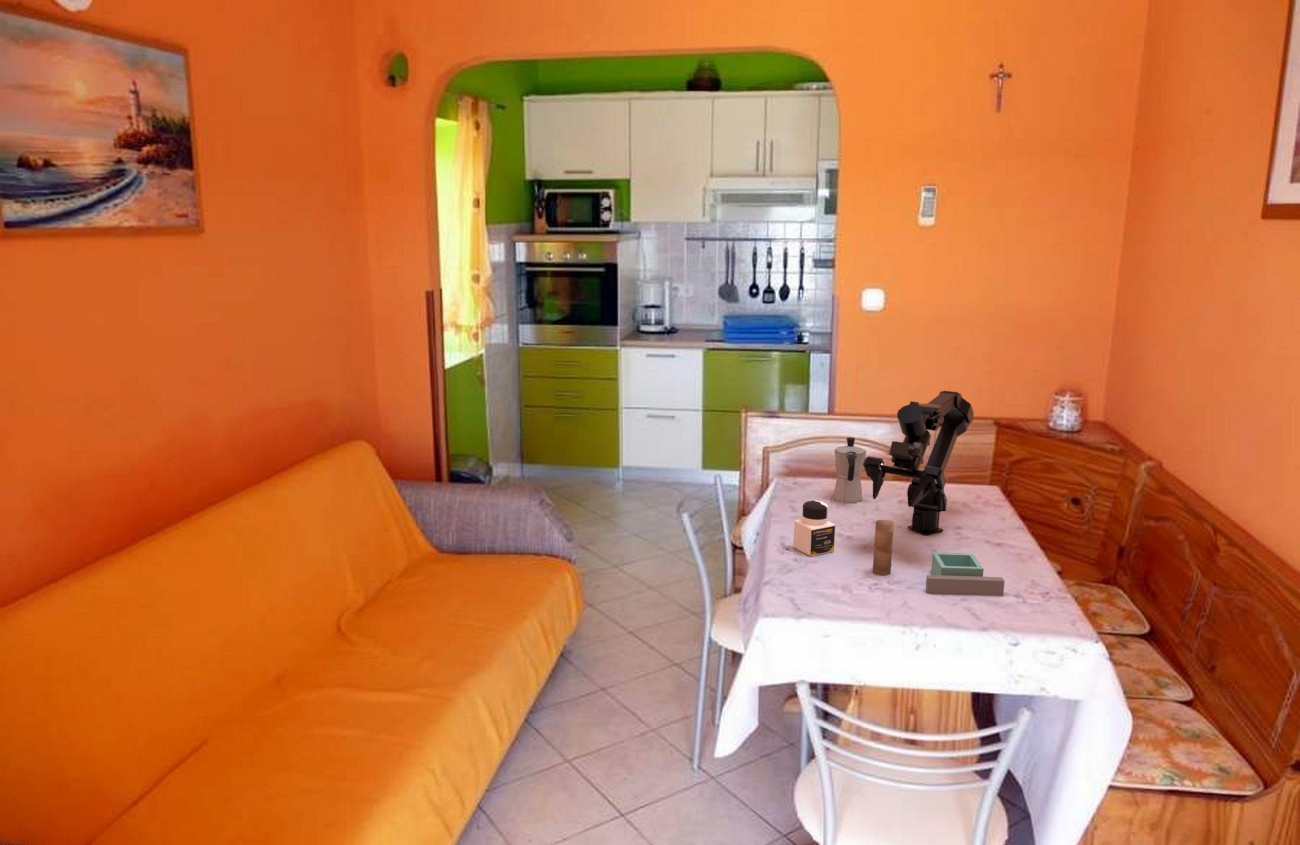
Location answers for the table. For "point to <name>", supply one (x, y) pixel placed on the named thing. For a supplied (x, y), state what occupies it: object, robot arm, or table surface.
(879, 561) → the dowel
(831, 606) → the table surface
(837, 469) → the coffee maker
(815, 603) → the table surface
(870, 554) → the table surface
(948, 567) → the socket block
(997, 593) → the backstop wall
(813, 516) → the medicine bottle
